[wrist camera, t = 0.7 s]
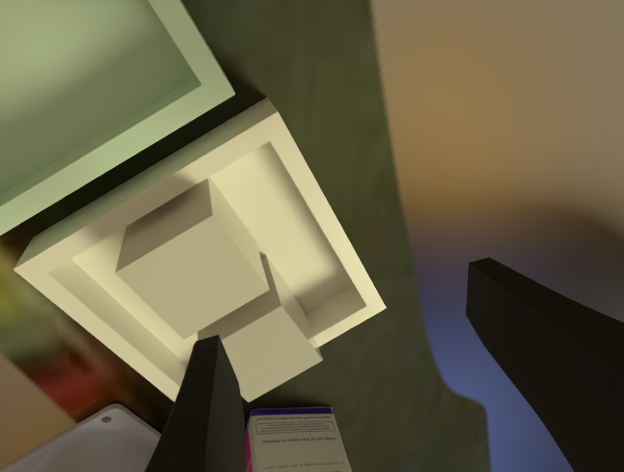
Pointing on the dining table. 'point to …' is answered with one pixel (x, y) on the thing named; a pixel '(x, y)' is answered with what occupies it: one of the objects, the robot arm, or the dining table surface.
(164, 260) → the ivory sharp-edged cube
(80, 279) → the tray
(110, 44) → the tub
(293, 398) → the dining table surface
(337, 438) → the supplement box
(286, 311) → the cream cube block
